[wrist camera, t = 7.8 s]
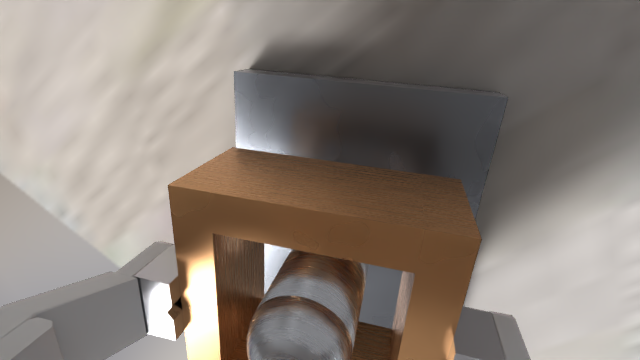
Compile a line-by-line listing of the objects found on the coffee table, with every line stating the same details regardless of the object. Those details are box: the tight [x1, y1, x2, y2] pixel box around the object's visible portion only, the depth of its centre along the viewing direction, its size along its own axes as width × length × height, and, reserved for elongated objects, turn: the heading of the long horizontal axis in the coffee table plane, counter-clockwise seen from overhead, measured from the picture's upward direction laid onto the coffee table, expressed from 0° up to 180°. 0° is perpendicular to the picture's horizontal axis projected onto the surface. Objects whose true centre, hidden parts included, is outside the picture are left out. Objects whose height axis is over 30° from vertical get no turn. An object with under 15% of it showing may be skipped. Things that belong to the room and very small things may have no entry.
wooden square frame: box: [168, 147, 482, 360], centre depth 9 cm, size 6×6×3 cm
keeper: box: [234, 69, 508, 360], centre depth 11 cm, size 10×9×8 cm
